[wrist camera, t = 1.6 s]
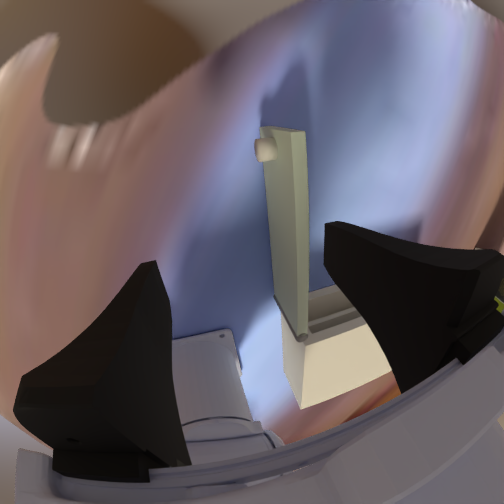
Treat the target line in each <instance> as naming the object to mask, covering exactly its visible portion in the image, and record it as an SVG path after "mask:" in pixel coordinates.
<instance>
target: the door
mask: <svg viewBox="0 0 504 504" xmlns="http://www.w3.org/2000/svg"><path fill="white" fill-rule="evenodd" d="M259 128H260V138H261V139H255V143H254V148H255V154H256V158H257V160H258V162H263V168H264V178H265V188H266V199H267V210H268V221H269V233H270V245H271V257H272V270H273V283H274V296H273V297H274V299H275V301H276V303H277V305H278V307H279V309H280V311H281V313H282V314H283V316H284V318H285V320H286V322H287V324H288V326H289V328H290V330H291V332H292V334H293V335H294V337H295V339H296V341H297V342H303V341H305V340H306V339H307V338H308V334H307V327H308V301H309V197H308V170H307V151H306V135H305V131H301V130H295V129H289V128H282V127H275V126H264V127H259Z"/></svg>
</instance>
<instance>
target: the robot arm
mask: <svg viewBox="0 0 504 504" xmlns="http://www.w3.org/2000/svg"><path fill="white" fill-rule="evenodd" d="M324 266H325V268H326V270H327V271H328V273H329V275H330V276H331V278H332V280H333V281H334V283H335V284H336V285H337V286H338V288H339V289H340V290H341V291H342V293H343V294H344V295H345V296H346V297H347V299H348V300H349V301H350V302H351V304H352V305H353V306H354V307H355V308H356V310H357V311H358V312H359V313H360V315H361V316H362V317H363V319H364V320H365V322H366V323H367V324H368V326H369V328H370V329H371V331H372V333H373V334H374V336H375V338H376V339H377V341H378V343H379V345H380V347H381V349H382V351H383V353H384V354H385V356H386V358H387V361H388V363H389V365H390V367H391V369H392V371H393V374H394V376H395V379H396V381H397V384H398V386H399V389H400V392H401V395H399V396H398V397H396V398H394V399H392V400H390V401H389V402H387V403H385V404H383V405H381V406H379V407H377V408H375V409H373V410H371V411H369V412H367V413H365V414H363V415H361V416H359V417H357V418H355V419H353V420H350V421H348V422H346V423H344V424H341V425H339V426H337V427H334V428H332V429H329V430H327V431H324V432H322V433H319V434H316V435H314V436H311V437H308V438H305V439H303V440H300V441H297V442H294V443H291V444H287V445H285V444H284V442H283V441H282V439H281V438H280V437H279V436H277V435H276V434H275V433H274V432H272V431H270V430H265V431H263V429H262V426H261V423H260V421H253V419H252V416H251V413H250V409H249V406H248V403H247V400H246V396H245V393H244V390H243V386H242V383H241V380H240V376H241V375H242V371H241V367H240V363H239V359H238V355H237V351H236V347H235V343H234V338H233V334H232V331H231V330H230V329H222V330H218V331H214V332H209V333H205V334H200V335H196V336H191V337H186V338H181V339H176V340H172V317H171V308H170V300H169V298H168V295H167V292H166V289H165V286H164V284H163V281H162V278H161V275H160V272H159V269H158V266H157V263H156V260H154V261H149V262H145V263H141V264H140V265H139V266H138V268H137V269H136V270H135V271H134V273H133V274H132V275H131V277H130V278H129V279H128V281H127V282H126V283H125V285H124V286H123V287H122V289H121V290H120V291H119V293H118V294H117V295H116V296H115V298H114V299H113V300H112V301H111V302H110V304H109V305H108V306H107V307H106V309H105V310H104V311H103V312H102V313H101V314H100V315H99V316H98V317H97V319H96V320H95V321H94V322H93V323H92V324H91V325H90V326H89V327H88V328H87V329H86V330H84V331H83V332H82V333H81V334H80V335H79V336H78V337H77V338H75V339H74V340H73V341H72V342H71V343H70V344H69V345H67V346H66V347H65V348H64V349H62V350H61V351H60V352H58V353H57V354H56V355H54V356H53V357H52V358H50V359H49V360H47V361H46V362H44V363H43V364H41V365H39V366H38V367H36V368H35V369H33V370H31V371H30V372H28V373H26V374H25V375H23V376H22V378H21V381H20V384H19V388H18V392H17V395H16V399H15V403H14V408H13V412H14V414H15V417H16V418H17V420H18V421H19V422H20V424H21V425H22V426H24V427H25V428H26V429H27V430H28V431H29V432H31V433H32V434H33V435H35V436H36V437H37V438H39V439H40V440H42V441H43V442H44V443H46V444H47V445H49V446H50V447H52V448H53V458H52V457H50V456H48V455H45V454H43V453H39V452H34V451H30V450H25V449H21V448H20V449H18V455H17V464H16V477H15V504H504V430H503V428H502V427H501V426H500V424H499V423H498V422H497V419H498V418H499V417H500V416H501V414H502V413H503V412H504V309H503V311H502V313H500V312H499V311H498V310H497V308H498V306H499V304H498V302H497V301H495V300H494V298H495V296H496V294H497V291H498V289H499V287H500V284H501V282H502V279H503V276H504V256H503V255H502V254H501V253H499V252H498V251H496V250H492V249H482V250H466V249H451V248H442V247H435V246H429V245H423V244H419V243H414V242H410V241H406V240H402V239H398V238H395V237H391V236H388V235H385V234H381V233H378V232H375V231H372V230H369V229H366V228H363V227H359V226H356V225H353V224H349V223H345V222H340V221H335V222H330V223H325V237H324ZM221 334H223V335H221ZM308 465H309V466H308ZM305 466H307V467H305ZM302 467H304V468H302ZM299 468H302V469H299ZM296 469H299V470H297V471H294V472H293V470H296Z"/></svg>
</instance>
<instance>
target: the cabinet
mask: <svg viewBox="0 0 504 504" xmlns="http://www.w3.org/2000/svg"><path fill="white" fill-rule="evenodd" d="M281 325H282V347H283V370H284V373H285V375H286V377H287V380H288V382H289V384H290V386H291V389H292V391H293V393H294V395H295V398H296V400H297V402H298V404H299V407H300V409H304V408H306V407H309V406H312V405H315V404H318V403H320V402H323V401H325V400H328V399H331V398H333V397H335V396H338V395H340V394H343V393H345V392H347V391H350V390H352V389H354V388H357V387H359V386H361V385H363V384H365V383H367V382H370V381H372V380H374V379H376V378H378V377H380V376H382V375H384V374H386V373H388V372H390V371H391V370H392V369H391V367H390V365H389V363H388V361H387V358H386V356H385V354H384V353H383V351H382V349H381V347H380V345H379V343H378V341H377V339H376V338H375V336H374V334H373V333H372V331H371V329H370V328H369V326H368V324H367V323H366V322H365V320H364V319H363V317H362V316H361V315H360V313H359V312H358V311H357V310H356V308H355V307H354V306H353V305H352V304H351V302H350V301H349V300H348V299H347V297H346V296H345V295H344V294H343V293H342V291H341V290H340V289H339V288H338V286H337V285H336V284H335V285H332V286H329V287H325V288H322V289H319V290H315V291H312V292H309V301H308V327H307V334H308V338H307V339H306V340H305V341H303V342H297V341H296V339H295V337H294V335H293V334H292V332H291V330H290V328H289V326H288V324H287V322H286V320H285V318H284V316H283V314H282V313H281Z"/></svg>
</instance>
